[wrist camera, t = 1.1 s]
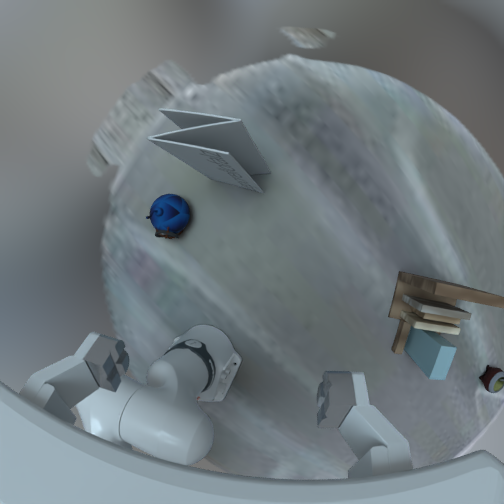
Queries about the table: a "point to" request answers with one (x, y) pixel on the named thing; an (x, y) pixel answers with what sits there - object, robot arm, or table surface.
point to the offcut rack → (432, 291)
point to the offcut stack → (433, 315)
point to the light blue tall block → (430, 352)
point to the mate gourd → (493, 379)
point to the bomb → (169, 215)
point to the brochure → (214, 147)
